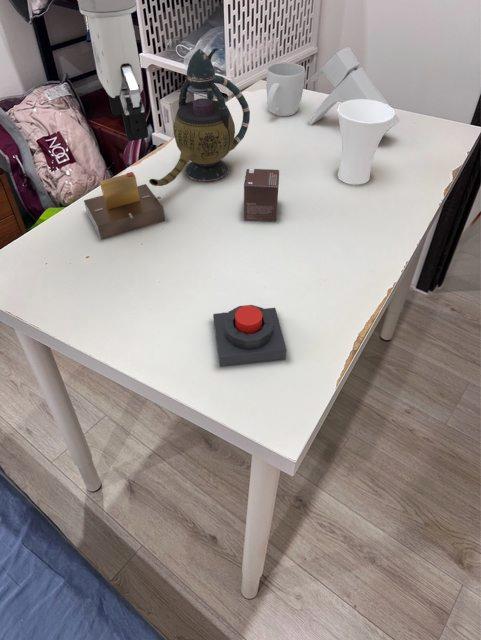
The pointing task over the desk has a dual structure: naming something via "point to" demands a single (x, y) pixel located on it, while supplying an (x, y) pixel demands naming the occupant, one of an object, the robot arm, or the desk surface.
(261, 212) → the box
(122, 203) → the tap handle
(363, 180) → the cup
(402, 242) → the desk surface
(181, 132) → the teapot
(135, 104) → the robot arm
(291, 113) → the mug
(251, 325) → the red short cylinder
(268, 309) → the dark grey squat piece
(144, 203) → the tap block
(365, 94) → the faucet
